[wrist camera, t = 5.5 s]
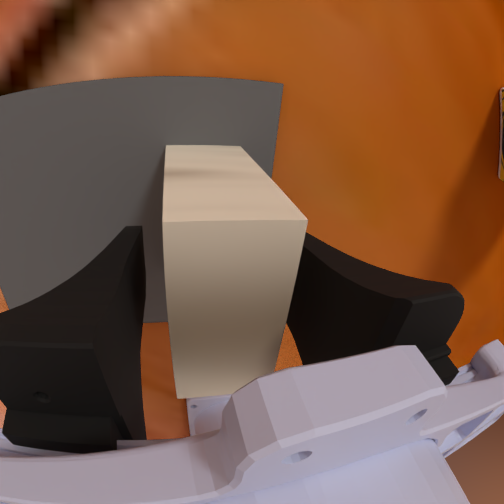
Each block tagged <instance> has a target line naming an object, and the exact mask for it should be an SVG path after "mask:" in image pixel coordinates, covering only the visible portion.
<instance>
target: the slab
mask: <svg viewBox="0 0 504 504" xmlns="http://www.w3.org/2000/svg"><path fill="white" fill-rule="evenodd" d="M307 223H308V219H307V218H306V217H305V216H304V215H303V214H302V212H301V211H300V210H299V209H298V208H297V207H296V206H295V205H294V203H293V202H292V201H291V200H290V199H289V198H288V197H287V196H286V195H285V193H284V192H283V191H282V190H281V189H280V188H279V187H278V186H277V185H276V184H275V183H274V181H273V180H272V179H271V178H270V177H269V176H268V175H267V174H266V173H265V172H264V171H263V170H262V168H261V167H260V166H259V165H258V164H257V163H256V162H255V161H254V160H253V159H252V158H251V157H250V156H249V155H248V154H247V153H246V152H245V151H244V149H243V148H242V147H241V146H220V145H166V151H165V168H164V188H163V217H162V226H163V252H164V272H165V287H166V301H167V313H168V325H169V335H170V345H171V354H172V363H173V371H174V379H175V386H176V394H177V399H182V398H195V397H206V396H217V395H226V394H233V393H234V392H235V391H236V390H238V389H240V388H241V387H243V386H244V385H246V384H247V383H249V382H251V381H252V380H254V379H255V378H257V377H259V376H262V375H266V374H269V373H272V372H274V369H275V366H276V362H277V358H278V354H279V349H280V345H281V341H282V337H283V333H284V329H285V325H286V320H287V316H288V312H289V307H290V303H291V299H292V294H293V290H294V285H295V281H296V276H297V271H298V267H299V262H300V257H301V252H302V248H303V243H304V238H305V233H306V228H307Z"/></svg>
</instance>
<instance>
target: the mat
mask: <svg viewBox="0 0 504 504" xmlns="http://www.w3.org/2000/svg"><path fill="white" fill-rule="evenodd" d="M282 91H283V84H281V83H273V82H264V81H255V80H244V79H232V78H216V77H189V76H154V77H128V78H113V79H101V80H91V81H82V82H74V83H66V84H59V85H53V86H47V87H41V88H36V89H30V90H25V91H21V92H16V93H12V94H7V95H3V96H0V287H1V290H2V292H3V295H4V298H5V300H6V303H7V305H8V308H9V310H10V309H12V308H15V307H18V306H20V305H22V304H25V303H27V302H29V301H31V300H33V299H35V298H37V297H39V296H41V295H43V294H45V293H47V292H49V291H50V290H52V289H53V288H55V287H57V286H58V285H60V284H61V283H63V282H65V281H66V280H68V279H69V278H71V277H72V276H73V275H75V274H76V273H77V272H79V271H80V270H81V269H83V268H84V267H85V266H86V265H87V264H89V263H90V262H91V261H92V260H93V259H94V258H95V257H96V256H97V255H98V254H99V253H100V252H102V251H103V250H104V249H105V248H106V247H107V246H108V244H109V243H110V242H111V241H112V240H113V239H114V238H115V237H116V236H117V235H118V234H119V233H120V232H121V231H122V229H123V228H124V227H125V226H142V229H143V244H144V256H145V267H146V300H145V308H144V317H143V323H152V322H168V313H167V301H166V287H165V272H164V252H163V226H162V217H163V188H164V168H165V151H166V145H220V146H241V147H242V148H243V149H244V151H245V152H246V153H247V154H248V155H249V156H250V157H251V158H252V159H253V160H254V161H255V162H256V163H257V164H258V165H259V166H260V167H261V168H262V170H263V171H264V172H265V173H266V174H267V175H268V176H269V177H270V178H271V177H272V170H273V162H274V154H275V146H276V139H277V131H278V123H279V115H280V107H281V99H282Z"/></svg>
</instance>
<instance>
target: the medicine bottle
mask: <svg viewBox="0 0 504 504" xmlns="http://www.w3.org/2000/svg"><path fill="white" fill-rule="evenodd" d="M499 93H500V153H499V169H498V177H499V179H500V180H502V181H503V182H504V88H501V89H500V91H499Z"/></svg>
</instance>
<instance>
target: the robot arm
mask: <svg viewBox="0 0 504 504" xmlns="http://www.w3.org/2000/svg"><path fill="white" fill-rule="evenodd" d="M145 300H146V267H145V256H144V244H143V229H142V226H125V227H124V228H123V229H122V231H121V232H120V233H119V234H118V235H117V236H116V237H115V238H114V239H113V240H112V241H111V242H110V243H109V244H108V246H107V247H106V248H105V249H104V250H103V251H102V252H100V253H99V254H98V255H97V256H96V257H95V258H94V259H93V260H92V261H91V262H90V263H89V264H87V265H86V266H85V267H84V268H83V269H81V270H80V271H79V272H77V273H76V274H75V275H73V276H72V277H71V278H69V279H68V280H66V281H65V282H63V283H61V284H60V285H58V286H57V287H55V288H53V289H52V290H50V291H49V292H47V293H45V294H43V295H41V296H39V297H37V298H35V299H33V300H31V301H29V302H27V303H25V304H22V305H20V306H18V307H15V308H12V309H10V310H7V311H5V312H2V313H0V400H1V401H2V402H3V404H4V405H5V406H6V408H7V410H6V415H5V420H4V425H3V429H2V428H0V504H470V503H469V501H468V499H467V497H466V495H465V494H464V492H463V490H462V488H461V487H460V485H459V483H458V481H457V480H456V478H455V476H454V474H453V472H452V471H451V469H450V467H449V465H448V464H447V462H446V460H445V459H444V458H446V457H447V456H448V455H450V454H452V453H453V452H454V451H456V450H457V449H459V448H460V447H462V446H463V445H465V444H466V443H467V442H469V441H470V440H472V439H473V438H474V437H475V436H477V435H478V434H480V433H481V432H482V431H484V430H485V429H486V428H488V427H489V426H490V425H492V424H493V423H494V422H495V421H497V420H498V419H499V418H500V417H501V416H502V415H503V414H504V346H503V345H502V344H501V342H500V341H499V340H494V341H492V342H490V343H488V344H486V345H484V346H482V347H481V348H480V349H479V350H478V351H477V352H476V353H475V355H474V356H473V358H472V359H471V362H470V363H469V364H466V365H464V366H462V367H460V368H458V369H457V368H456V366H455V365H454V364H453V363H452V361H451V360H450V359H449V357H448V355H449V354H450V353H451V349H450V348H449V347H448V345H447V344H446V343H447V341H448V340H449V338H450V336H451V335H452V333H453V331H454V330H455V328H456V326H457V324H458V323H459V321H460V319H461V316H462V314H463V310H464V298H463V296H462V295H461V294H460V293H459V292H458V291H457V290H456V289H455V288H454V287H453V286H452V285H450V284H447V283H441V282H435V281H428V280H422V279H418V278H414V277H409V276H405V275H401V274H398V273H394V272H391V271H388V270H385V269H382V268H379V267H376V266H373V265H371V264H368V263H366V262H363V261H361V260H358V259H356V258H354V257H352V256H349V255H347V254H345V253H343V252H341V251H339V250H337V249H335V248H333V247H332V246H330V245H328V244H326V243H324V242H322V241H321V240H319V239H317V238H315V237H314V236H312V235H310V234H308V233H305V238H304V243H303V248H302V252H301V257H300V262H299V267H298V271H297V276H296V281H295V285H294V290H293V294H292V299H291V303H290V307H289V312H288V316H287V320H286V323H287V325H288V327H289V329H290V331H291V333H292V335H293V338H294V340H295V343H296V346H297V349H298V352H299V354H300V357H301V360H302V364H303V365H302V366H297V367H290V368H285V369H282V370H279V371H276V372H272V373H269V374H266V375H262V376H259V377H257V378H255V379H254V380H252V381H251V382H249V383H247V384H246V385H244V386H243V387H241V388H240V389H238V390H236V391H235V392H234V393H233V394H226V395H217V396H206V397H195V398H187V399H186V402H187V411H188V420H189V428H190V436H189V437H185V438H179V439H160V440H147V438H146V430H145V421H144V411H143V400H142V385H141V364H140V348H141V336H142V326H143V317H144V308H145Z"/></svg>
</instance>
